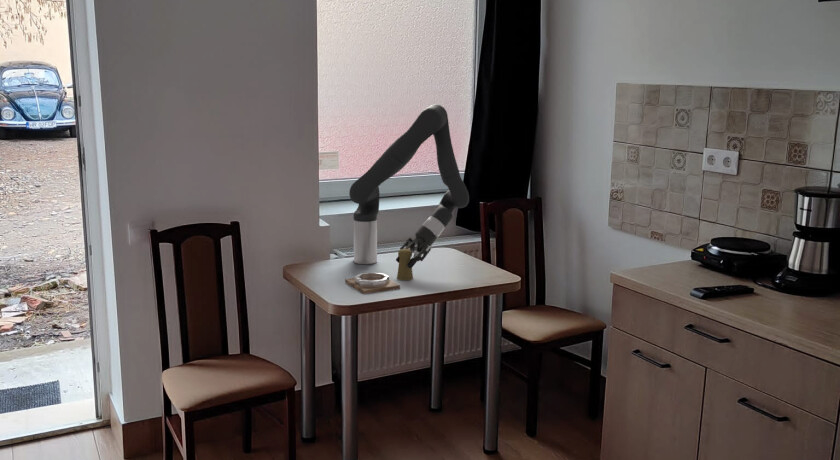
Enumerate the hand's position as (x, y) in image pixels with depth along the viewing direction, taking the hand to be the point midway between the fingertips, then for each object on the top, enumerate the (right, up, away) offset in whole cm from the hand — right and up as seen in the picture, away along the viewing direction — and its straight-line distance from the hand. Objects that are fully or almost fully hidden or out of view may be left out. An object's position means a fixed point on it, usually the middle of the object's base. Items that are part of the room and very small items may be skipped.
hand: (402, 264), depth 286 cm
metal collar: (-11, -6, -8) cm, 15 cm away
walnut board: (-11, -7, -8) cm, 15 cm away
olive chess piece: (+1, -5, +2) cm, 6 cm away
